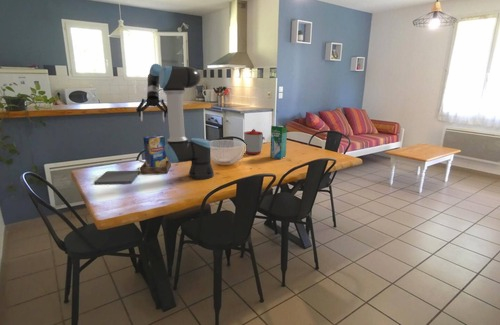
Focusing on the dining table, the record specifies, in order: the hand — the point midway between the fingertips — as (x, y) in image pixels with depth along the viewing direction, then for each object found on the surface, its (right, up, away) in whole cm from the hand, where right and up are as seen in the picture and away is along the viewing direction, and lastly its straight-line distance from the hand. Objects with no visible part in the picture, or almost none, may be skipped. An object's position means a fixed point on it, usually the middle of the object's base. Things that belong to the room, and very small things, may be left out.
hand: (152, 121), depth 192 cm
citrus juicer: (+67, -19, +50) cm, 86 cm away
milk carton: (+85, -23, +39) cm, 96 cm away
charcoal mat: (-15, -36, -15) cm, 42 cm away
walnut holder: (+2, -32, +3) cm, 32 cm away
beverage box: (+2, -32, +3) cm, 32 cm away
